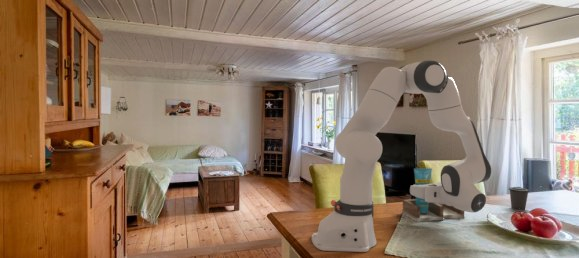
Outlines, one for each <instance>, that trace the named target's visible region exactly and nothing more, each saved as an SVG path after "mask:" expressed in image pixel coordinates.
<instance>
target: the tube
mask: <svg viewBox="0 0 579 258" xmlns="http://www.w3.org/2000/svg"><path fill="white" fill-rule="evenodd" d="M432 170H433V169H432V168H430V167H429V168H413V173H414V182H415V183H414V184H417V185H424V184H430V183H431V181H432V180H431V179H432ZM415 199H416V205H417V206H419V207H420V213H428V203H429V202H426V201H425V199H420V198H418V197H415Z"/></svg>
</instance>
